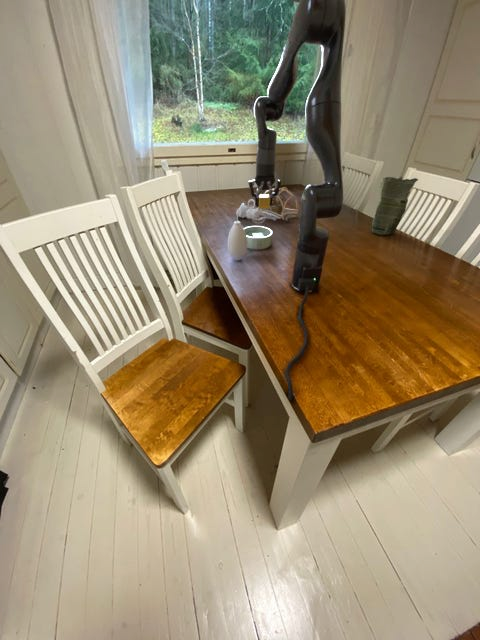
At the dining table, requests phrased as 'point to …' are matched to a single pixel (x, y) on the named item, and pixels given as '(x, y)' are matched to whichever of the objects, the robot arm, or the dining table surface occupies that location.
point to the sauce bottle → (237, 241)
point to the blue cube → (257, 235)
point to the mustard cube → (264, 201)
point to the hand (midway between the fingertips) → (263, 206)
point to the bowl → (260, 241)
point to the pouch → (391, 204)
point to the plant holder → (276, 203)
